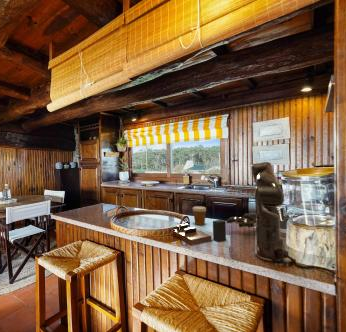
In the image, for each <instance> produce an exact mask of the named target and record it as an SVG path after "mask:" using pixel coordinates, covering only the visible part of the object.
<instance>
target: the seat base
mask: <svg viewBox="0 0 346 332" xmlns="http://www.w3.org/2000/svg"><path fill="white" fill-rule="evenodd" d="M179 225H181V227H180V230H179ZM179 225H176V226H175V227H176V229H174V230H175V231H174V233H173V232H172V236H174V237H175V238H177V239H179V240H181V241H183V242H185V243H187V244H189V245H190V246H194V245H195V246H196V245H198V244H199V245H200V244H204V243H208V242H212V235H211V234H208V233H206V232H203V231H201V230H198V229H197V227H195V226H194V227H192V226H189V224H188V223H185V224H179Z"/></svg>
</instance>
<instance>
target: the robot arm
mask: <svg viewBox="0 0 346 332" xmlns="http://www.w3.org/2000/svg"><path fill="white" fill-rule="evenodd" d="M251 174H252V177H253V180H254V183H255V186H256V187H255V189H254V203H255V204H254V205H255V212H252V213H251V212H250V213H245V214H243V215H242V216H240V217H238V216H235V215H234V216H231V217H228V219H226V223H227V224H231V223H233V224H238V227H239V228H243V227H245V228H248V229H249V228H254V227H255V233H256V234H255V236H256V241H255V243H256V244H255V249H256V257H257V258H259V259H261V260H263V261H266V262H271V263H274V264H275V263H278V262H282V261H284V259H289V260H290V261H291V262H292V264H293V265H294V266H296V267H298V268H301V269H318V270H323V271H325V272H326V271H327V272H329V273H331V274H333V275H334V276H335V271H334V270H333V269H331V268H326V267H323V266H318V265H313V264H312V265H311V264H310V265H309V264H308V265H303V264H299V263H297V262H296V260H295V259H294V258H293V257H291V256H290V255H289V251H287V250H285V249H284V240H283V239H282V238H281V220H280V217H279V213H278V211H279V209H278V208H280V207H282V206H283V204H284V201H285V196H284V192H283V190H282V188H281V186H280V185H279V184H278V180H277V177H276V175H275V173H274V166H273V165H272V163H271V162H269V161H264V162H256V163H253V164H252V165H251ZM277 209H278V210H277Z"/></svg>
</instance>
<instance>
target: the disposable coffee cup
mask: <svg viewBox="0 0 346 332" xmlns="http://www.w3.org/2000/svg"><path fill="white" fill-rule="evenodd" d="M192 212H193V218H194V224H195V225H197V226H205V223H206V212H207V208H206V206H201V205H195V206H193V207H192Z"/></svg>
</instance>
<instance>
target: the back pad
mask: <svg viewBox="0 0 346 332" xmlns="http://www.w3.org/2000/svg"><path fill="white" fill-rule="evenodd" d="M226 223H227V221H226V220H223V219H217V220H212V240H213V241H215V242H216V243H219V242H223V241H227V225H226Z"/></svg>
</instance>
